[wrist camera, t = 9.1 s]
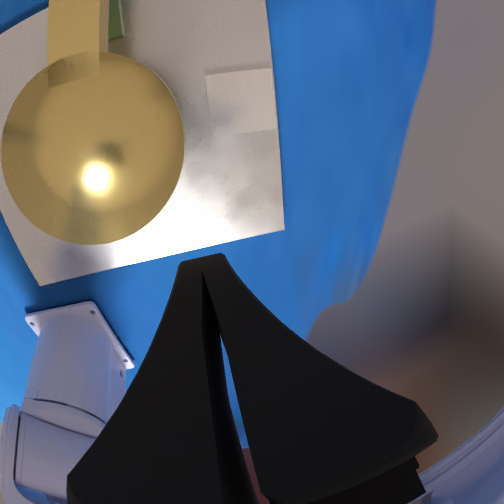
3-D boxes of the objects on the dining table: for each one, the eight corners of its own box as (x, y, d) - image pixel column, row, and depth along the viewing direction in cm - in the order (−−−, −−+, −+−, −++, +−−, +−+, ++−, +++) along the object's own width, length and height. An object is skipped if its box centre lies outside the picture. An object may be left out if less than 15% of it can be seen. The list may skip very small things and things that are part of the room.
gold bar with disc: (187, 192, 16) (192, 232, 13) (57, 212, 15) (30, 255, 11) (184, -50, 8) (189, -87, 4) (36, -16, 6) (-1, -33, 3)
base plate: (279, 222, 21) (301, 255, 18) (43, 278, 18) (28, 316, 15) (255, -34, 10) (277, -59, 7) (-30, 61, 8) (-67, 67, 4)
